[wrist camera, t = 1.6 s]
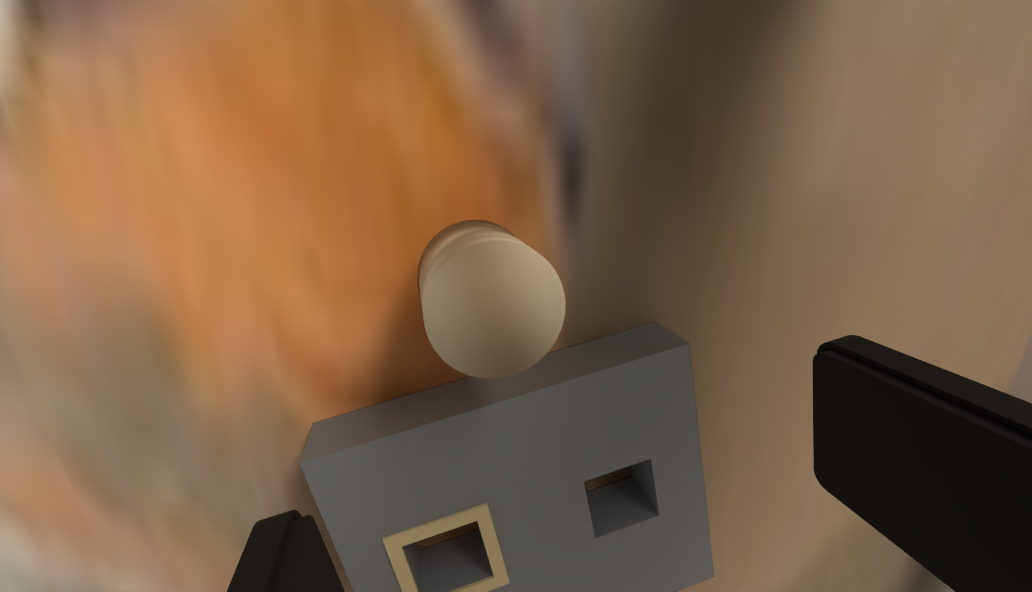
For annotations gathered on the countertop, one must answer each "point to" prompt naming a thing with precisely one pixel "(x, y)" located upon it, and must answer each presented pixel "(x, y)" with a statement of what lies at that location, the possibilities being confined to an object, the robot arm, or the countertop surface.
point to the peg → (488, 300)
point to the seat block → (525, 477)
